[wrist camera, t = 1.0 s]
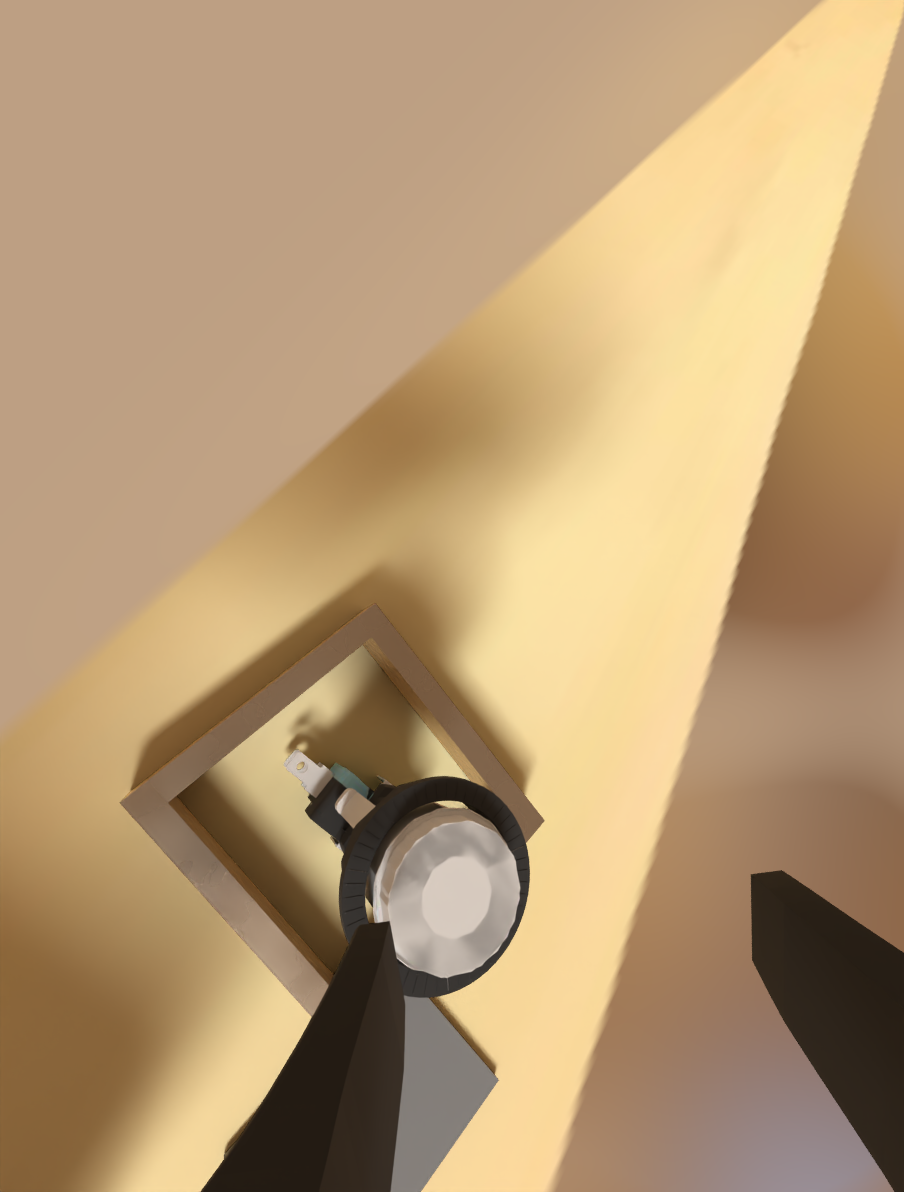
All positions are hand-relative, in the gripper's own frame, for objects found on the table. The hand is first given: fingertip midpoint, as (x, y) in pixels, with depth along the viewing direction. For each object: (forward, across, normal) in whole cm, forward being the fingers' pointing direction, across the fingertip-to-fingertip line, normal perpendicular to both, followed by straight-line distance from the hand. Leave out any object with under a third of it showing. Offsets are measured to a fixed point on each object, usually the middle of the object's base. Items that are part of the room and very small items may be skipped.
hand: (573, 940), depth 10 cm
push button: (+11, +7, +3) cm, 14 cm away
